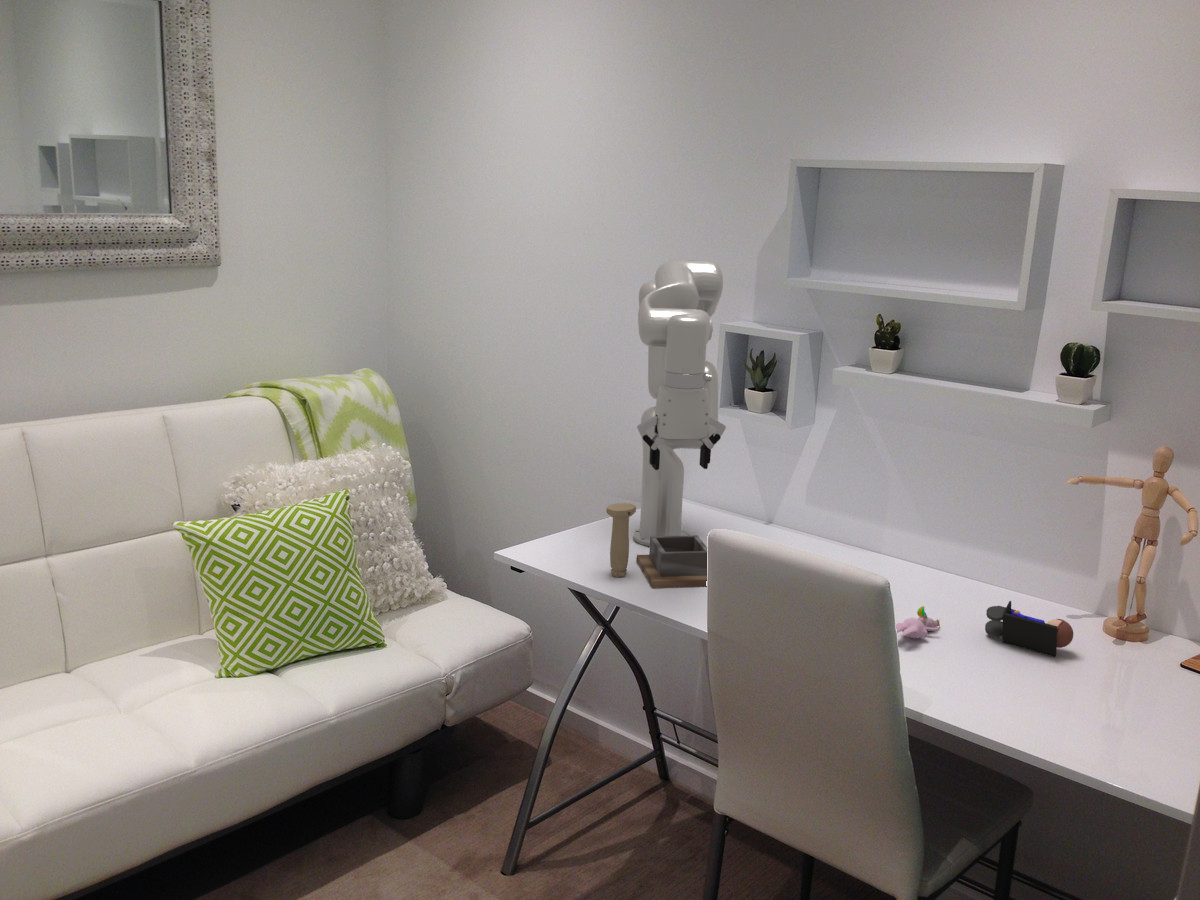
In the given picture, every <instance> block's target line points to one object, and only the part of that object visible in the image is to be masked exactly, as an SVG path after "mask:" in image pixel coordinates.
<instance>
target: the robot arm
mask: <svg viewBox="0 0 1200 900" xmlns="http://www.w3.org/2000/svg"><path fill="white" fill-rule="evenodd" d="M723 288H724V277H723V273H722V270H721V268H720V266H719V265H718V263H715V262H714V261H711V260H687V259H674V260H668V261H665V262H663V263H662V264H661V265H659V267H658V268H657V269H656V271H655V275H654V279H653V280H649V281H647V282H645V283H643V284H642V285H641V286H640V288H639V291H638V312H637V325H638V335H639V338H640V341H641V342H642V344H644V345H645V346H647V347H648V349H647V350H648V352H647V354H648V355H647V356H648V357H647V358H648V359H647V366H648V367H647V385H648V387H647V389H648V393H649V394H650V396H651V397H652V398H653V399H655V400H656V402H655V406H651V407H649V408H647V409H646V410H644V411H643V413H642V415H641V419H640V423H639V424H638V425H637V426H636V429H637V431H638V432H639V433H638V434H639V435H640V437H641V441H642V474H641V475H642V477H641V478H642V479H641V494H640V495H641V496H640V497H641V498H640V499H641V500H640V516H639V517H640V518H639V519H640V520H639V521H640V522H639V528H637V529H636V530H634V532H633V534H632V539H633V540H634V541H635V542H636V543H637V544H641V545H643V546H646V547H650V536H688V534H687V533H686V532H684V531H682V518H683V497H684V484H685V483H684V481H685V480H684V479H685V478H684V477H685V466H684V462H682V459H681V458H680V457H679V455H678V454H677V453H676V452H675V451H674V450H678V449H679V450H680V449H688V450H689V449H690V450H699V466H701V468H703V469H704V470H707V469H708V467H709V464H710V463H711V453H712V449H713V448H714V446H715V445H716V444H717V443H719V441H720V440H721V437H722V436H723V434H724V432H725V430H726V428H727V426H726V425H725V424H724V423H722V422H720V421H719V376H718V372H717V368H716V366H715V365H714V364H713V363H712V362H710V361H707V360H706V357H707V355H706V354H707V345H708V342H709V341H710V340H711V339H712V336H713V331H714V326H713V325H714V324H713V319H712V318H711V317H713V316H714V314H715V312H716V310H717V307H718V304H719V302H720V300H721V297H722V293H723Z"/></svg>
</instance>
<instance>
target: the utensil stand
mask: <svg viewBox="0 0 1200 900" xmlns="http://www.w3.org/2000/svg"><path fill="white" fill-rule="evenodd" d="M707 548H708V546H707V545H706V544H705V542H704V541H703V540H702V539H701V538H700V536H699V535H687V536H650V546H649V554H636V559H635V560H636V563H637V564H638V566H639V568H640V570H641V572H642V573H643V575H644V577H645V578H646V580H647V582H648V583H649V585H650V587H651V588H652V589H670V588H672V589H673V588H698V587H699V588H703V587H704V586H705V587H706V581H707ZM701 586H702V587H701Z"/></svg>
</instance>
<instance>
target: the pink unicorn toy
mask: <svg viewBox="0 0 1200 900" xmlns="http://www.w3.org/2000/svg"><path fill="white" fill-rule="evenodd" d="M916 614H917V615H918V618H916V617H909V618H907V619H905V620H904V621H903V622H897V623H895V624H896V629H897V633H896V634H898V633H900V632H902V633H901V635H900V637H908V638H910V639H916V640H917V639H918V638H925V637H926V636H928V632H935V631H939V628H940V627H941V624H940V619H939V618H938V619H935V620H934V619H933V618H931V617H929V616H928V614H927V612H926V611H925V606H920V607H918V609H917V612H916Z"/></svg>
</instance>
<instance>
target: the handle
mask: <svg viewBox="0 0 1200 900" xmlns="http://www.w3.org/2000/svg"><path fill="white" fill-rule="evenodd" d="M605 509H606V510H605V511H606V514H607V515H608V516H610V517H612V527H611V528H612V529H611V538H610V547H609V548H610V549H609V554H610V555H609V560H610V567H611V569H610V575H611V576H612V577H613V576H614V577H615V578H623V577H625V576H626V575H627V571H628V569H627V568H628V565H629V558H630V556H629V555H630V534H629V530H630V528H629V527H630V526H629V524H630V522H629V521H630V517H632V516H633V515H635V514H636V513H637V506H636V505H635V504H633V503H631V502H630V503H629V502H620V503H619V502H618V503H613V504H612V503H611V504H609V505H608V506H606V508H605Z"/></svg>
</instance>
